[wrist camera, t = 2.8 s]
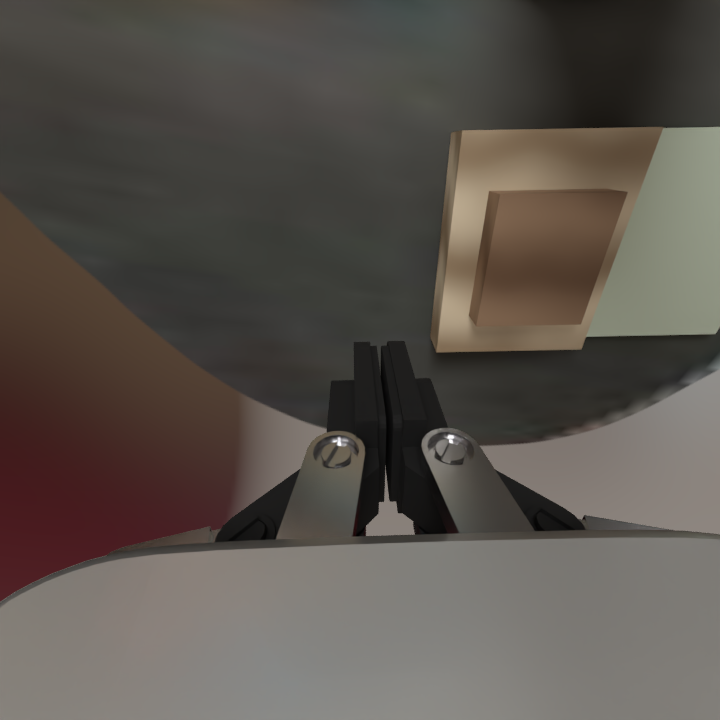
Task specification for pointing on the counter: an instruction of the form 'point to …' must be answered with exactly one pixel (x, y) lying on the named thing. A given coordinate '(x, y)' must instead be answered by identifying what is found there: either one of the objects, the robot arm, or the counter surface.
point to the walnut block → (542, 255)
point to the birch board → (526, 172)
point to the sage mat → (669, 245)
